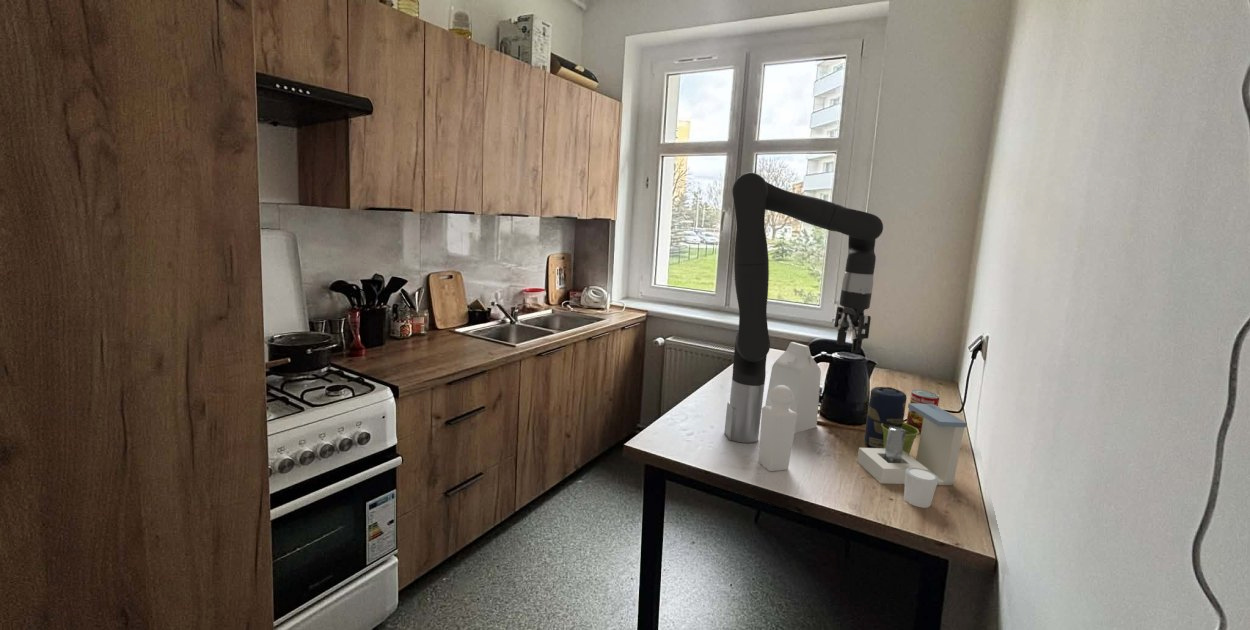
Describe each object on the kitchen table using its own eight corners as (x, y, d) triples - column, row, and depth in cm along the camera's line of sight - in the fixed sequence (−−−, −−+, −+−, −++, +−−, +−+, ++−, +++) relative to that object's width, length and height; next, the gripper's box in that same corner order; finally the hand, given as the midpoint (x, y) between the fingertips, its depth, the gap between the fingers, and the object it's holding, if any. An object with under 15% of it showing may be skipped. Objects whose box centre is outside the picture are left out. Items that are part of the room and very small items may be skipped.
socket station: (881, 484, 133) (892, 420, 130) (856, 460, 146) (865, 401, 142) (954, 486, 134) (966, 422, 131) (922, 462, 147) (933, 404, 144)
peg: (887, 476, 138) (894, 432, 135) (878, 468, 142) (885, 426, 139) (901, 476, 138) (909, 432, 136) (893, 469, 142) (900, 426, 140)
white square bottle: (775, 459, 143) (785, 380, 139) (791, 470, 137) (801, 389, 133) (755, 461, 141) (764, 382, 137) (769, 473, 135) (780, 390, 131)
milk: (816, 426, 168) (827, 347, 163) (793, 433, 162) (804, 350, 157) (785, 414, 178) (795, 338, 173) (762, 419, 171) (772, 341, 167)
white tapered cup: (902, 504, 124) (907, 476, 122) (899, 491, 130) (903, 464, 129) (936, 512, 121) (941, 483, 120) (930, 498, 128) (935, 471, 126)
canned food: (901, 427, 173) (907, 392, 170) (911, 422, 178) (917, 388, 176) (927, 435, 167) (934, 399, 165) (936, 430, 172) (943, 395, 170)
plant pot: (904, 467, 143) (909, 436, 142) (870, 453, 151) (875, 425, 149) (920, 459, 149) (925, 430, 147) (886, 446, 156) (891, 418, 155)
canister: (898, 456, 150) (908, 395, 147) (861, 447, 154) (870, 388, 151) (898, 444, 158) (908, 386, 155) (864, 436, 163) (873, 380, 160)
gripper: (831, 285, 149) (823, 341, 152) (856, 293, 135) (847, 354, 138) (856, 286, 149) (848, 342, 152) (884, 294, 135) (874, 356, 138)
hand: (847, 348), depth 145 cm, fingers open, 8 cm apart
